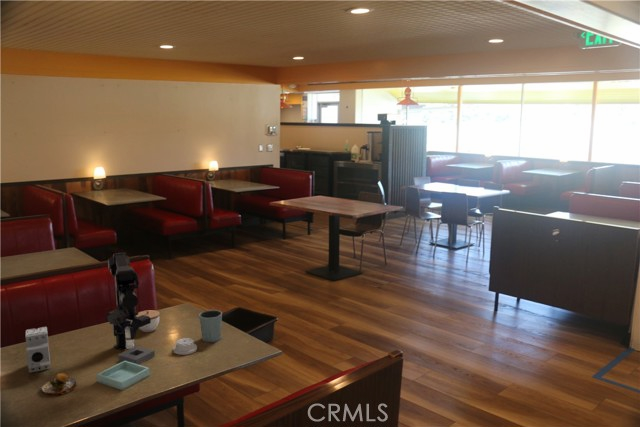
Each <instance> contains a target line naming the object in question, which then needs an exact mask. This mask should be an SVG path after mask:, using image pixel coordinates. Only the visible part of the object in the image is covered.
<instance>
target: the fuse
mask: <svg viewBox="0 0 640 427" xmlns="http://www.w3.org/2000/svg"><path fill="white" fill-rule="evenodd" d="M125 337H126V348H127V349H126V350H130V349H132V348H134V347H135V345H134V344H135V338H134V339H133V340H131V335H130V328H129V327H126V328H125Z"/></svg>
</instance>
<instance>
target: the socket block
mask: <svg viewBox="0 0 640 427" xmlns="http://www.w3.org/2000/svg"><path fill="white" fill-rule="evenodd" d="M155 356H156V355H155V350H154V349H149V348H145V347H142V346H139V345H137V346H136V345H135V346H134V348H131V349H127V350H126V351H124V352H122V353H120V354H118V361H120V362H123V361H128V362H131V363H135V364H138V365H141V364H142V363H145V362H147V361H148V360H151V359H152V358H155Z"/></svg>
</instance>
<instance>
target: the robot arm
mask: <svg viewBox="0 0 640 427" xmlns="http://www.w3.org/2000/svg"><path fill="white" fill-rule="evenodd" d="M107 265H108V266H107V267H108V270H109V271H110V274H111V275H112V277H113V278H114V282H115V283H114V284H115V298H116V309H114V310H112V311H109V312H107V314H106V315H105V316H106V317H105V318H106V319H105V320H106V321H108V322H109V324H110V325H112V333H113V336H114V337H115V340H116V341H115V342H116V344H115V345H113V348H115V349H119V350H122V351H125V350H128V349H127V348H126V337H125V328H126V327H129V328H130V335H131V340H133V339H134V340H135V338H136V335H137V334H138V330H140V328H139V327H142V326H145V325H147V324H149V323H151V319H150V317H149V316H145V315H141V316H139V317H136V315H138V313H139V312H138V311H136V306H137V305H138V303H139V298H138V296H137V294H136V293H135V289H139V287H138V286H139V285H140V281H139V276H138V274H137V272H136V271H135V270H134V268H133V267H132V266H131V262H130V257H129V256H128V255H127V252H117V253H116V252H115V253H113V255H112V256H110V258H109V257H108V260H107ZM134 346H136V343H134Z"/></svg>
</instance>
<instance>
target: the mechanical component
mask: <svg viewBox="0 0 640 427" xmlns="http://www.w3.org/2000/svg"><path fill="white" fill-rule="evenodd" d="M172 349H173V350H172V351H173V353H174V354H176V355H178V356H181V355H182V356H186V355H190V354H193V353H195V352H197V350H198V346H197V344H195V340H194V339H192V338H191V337H190V338H189V337H185V338H180V339H178V340H176V341H175V346H173V348H172Z"/></svg>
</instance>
